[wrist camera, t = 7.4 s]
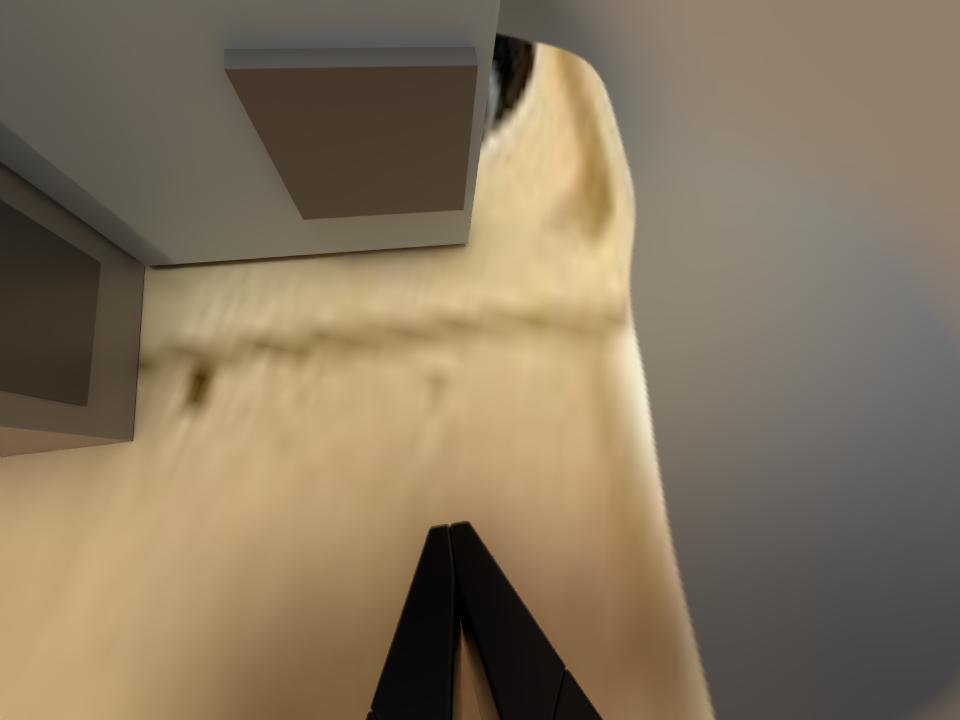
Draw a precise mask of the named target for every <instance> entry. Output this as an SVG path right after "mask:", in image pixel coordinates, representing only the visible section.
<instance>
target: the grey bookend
mask: <svg viewBox="0 0 960 720" xmlns="http://www.w3.org/2000/svg"><path fill="white" fill-rule="evenodd" d="M499 6H500V0H0V162H2V163H3V164H5V165H6V166H7V167H9V168H10V169H12V170H13V171H14V172H16V173H17V174H19V175H20V176H21V177H23V178H24V179H25V180H27V181H28V182H30V183H31V184H32V185H34V186H35V187H37V188H38V189H39V190H41V191H42V192H44V193H45V194H46V195H48V196H49V197H51V198H52V199H53V200H55V201H56V202H58V203H59V204H60V205H62V206H63V207H65V208H66V209H67V210H69V211H70V212H72V213H73V214H74V215H76V216H77V217H79V218H80V219H81V220H83V221H84V222H85V223H87V224H88V225H90V226H91V227H92V228H94V229H95V230H97V231H98V232H99V233H101V234H102V235H104V236H105V237H106V238H108V239H109V240H111V241H112V242H113V243H115V244H116V245H118V246H119V247H120V248H122V249H123V250H125V251H126V252H127V253H129V254H130V255H132V256H133V257H134V258H136V259H137V260H138V261H140V262H141V263H143V264H144V265H145V266H155V265H169V264H183V263H197V262H211V261H225V260H239V259H253V258H267V257H281V256H295V255H309V254H323V253H337V252H351V251H365V250H379V249H393V248H407V247H421V246H435V245H448V244H462V243H468V237H469V230H470V223H471V215H472V208H473V200H474V193H475V185H476V178H477V170H478V163H479V155H480V148H481V141H482V133H483V126H484V118H485V111H486V103H487V96H488V88H489V81H490V73H491V66H492V58H493V51H494V44H495V36H496V29H497V21H498V13H499Z"/></svg>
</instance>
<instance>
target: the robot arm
mask: <svg viewBox="0 0 960 720" xmlns="http://www.w3.org/2000/svg"><path fill="white" fill-rule="evenodd" d="M460 621H461V624H460ZM461 628H462V635H463V640H464V645H465V649H466V654H467V658H468V662H469V666H470V671H471V675H472V679H473V684H474V688H475V692H476V697H477V701H478V705H479V709H480V714H481V718H482V720H603V719H602V717H601V716H600V714H599V713H598V712H597V710H596V709H595V707H594V706H593V705H592V703H591V702H590V700H589V699H588V697H587V696H586V695H585V693H584V692H583V690H582V689H581V687H580V686H579V684H578V683H577V681H576V680H575V678H574V677H573V675H572V674H571V672H570V671H569V670H568V669H566V670H565V668H566V666H565V664H564V662H563V661H562V659H561V658H560V656H559V655H558V653H557V652H556V650H555V649H554V647H553V646H552V644H551V643H550V641H549V640H548V638H547V637H546V635H545V634H544V632H543V631H542V629H541V628H540V626H539V625H538V623H537V622H536V620H535V619H534V617H533V616H532V614H531V613H530V611H529V610H528V608H527V607H526V605H525V604H524V602H523V601H522V599H521V598H520V596H519V595H518V594H517V592H516V591H515V589H514V588H513V586H512V585H511V583H510V582H509V580H508V579H507V577H506V576H505V574H504V573H503V571H502V570H501V568H500V567H499V565H498V564H497V562H496V561H495V559H494V558H493V556H492V555H491V553H490V552H489V550H488V549H487V547H486V546H485V544H484V543H483V541H482V540H481V538H480V537H479V535H478V534H477V532H476V531H475V529H474V528H473V526H472V525H471V523H470V522H468V521H462V522H456V523H452V524H451V525H450V527H449V525H447V524H443V525H437V526H432V527H431V528H430V529H429V531H428V534H427V537H426V540H425V543H424V546H423V549H422V552H421V555H420V558H419V561H418V564H417V567H416V570H415V573H414V576H413V579H412V582H411V585H410V588H409V591H408V594H407V597H406V600H405V603H404V606H403V609H402V612H401V615H400V618H399V621H398V625H397V628H396V631H395V634H394V637H393V640H392V643H391V646H390V649H389V652H388V655H387V658H386V661H385V664H384V667H383V670H382V673H381V676H380V679H379V682H378V685H377V688H376V691H375V694H374V697H373V700H372V703H371V706H370V708H371V711H369V712H368V714H367V717H366V720H463V718H462V637H461Z"/></svg>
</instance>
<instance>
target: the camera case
mask: <svg viewBox="0 0 960 720" xmlns="http://www.w3.org/2000/svg"><path fill="white" fill-rule="evenodd" d="M143 280H144V264H143V263H141V262H140V261H138V260H137V259H136V258H134V257H133V256H132V255H130V254H129V253H127V252H126V251H125V250H123V249H122V248H120V247H119V246H118V245H116V244H115V243H113V242H112V241H111V240H109V239H108V238H106V237H105V236H104V235H102V234H101V233H99V232H98V231H97V230H95V229H94V228H92V227H91V226H90V225H88V224H87V223H85V222H84V221H83V220H81V219H80V218H79V217H77V216H76V215H74V214H73V213H72V212H70V211H69V210H67V209H66V208H65V207H63V206H62V205H60V204H59V203H58V202H56V201H55V200H53V199H52V198H51V197H49V196H48V195H46V194H45V193H44V192H42V191H41V190H39V189H38V188H37V187H35V186H34V185H32V184H31V183H30V182H28V181H27V180H25V179H24V178H23V177H21V176H20V175H19V174H17V173H16V172H14V171H13V170H12V169H10V168H9V167H7V166H6V165H5V164H3V163H2V162H0V457H4V456H13V455H21V454H29V453H37V452H46V451H54V450H62V449H70V448H78V447H87V446H95V445H103V444H111V443H120V442H128V441H133V427H134V413H135V398H136V383H137V368H138V354H139V339H140V324H141V310H142V295H143Z"/></svg>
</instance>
